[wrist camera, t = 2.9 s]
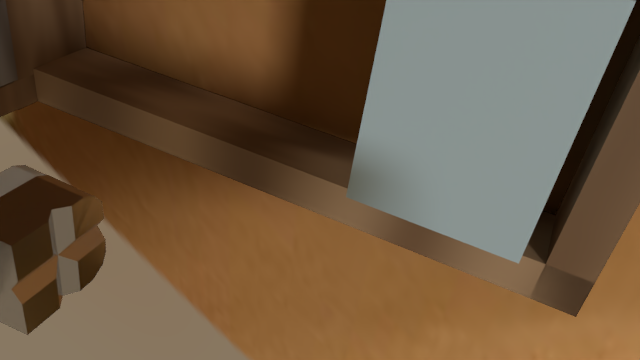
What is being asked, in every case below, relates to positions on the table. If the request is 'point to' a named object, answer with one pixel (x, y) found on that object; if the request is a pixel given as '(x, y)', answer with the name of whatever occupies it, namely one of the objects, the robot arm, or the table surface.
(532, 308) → the table surface
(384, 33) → the grey boxy piece
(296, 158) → the bay
